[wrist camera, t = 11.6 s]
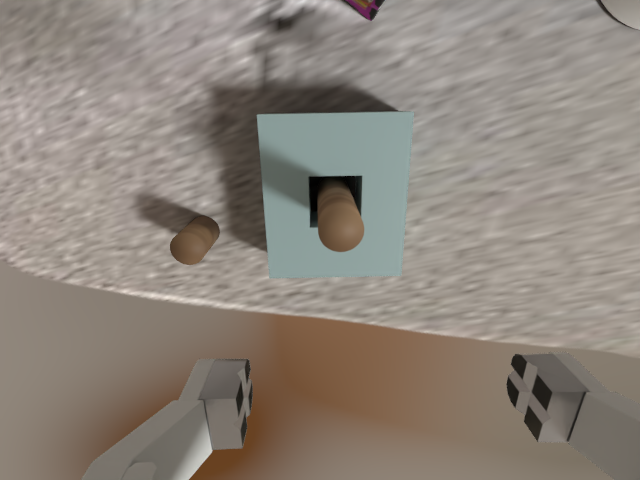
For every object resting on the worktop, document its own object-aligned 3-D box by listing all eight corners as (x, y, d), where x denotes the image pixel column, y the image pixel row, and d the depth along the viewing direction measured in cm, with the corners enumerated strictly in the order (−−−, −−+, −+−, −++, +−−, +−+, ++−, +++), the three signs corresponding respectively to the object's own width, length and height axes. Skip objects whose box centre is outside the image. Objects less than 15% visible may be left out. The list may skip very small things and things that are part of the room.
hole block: (265, 113, 31) (256, 114, 26) (399, 111, 31) (414, 111, 26) (275, 256, 36) (269, 278, 31) (390, 253, 36) (401, 275, 31)
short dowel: (187, 216, 34) (167, 233, 29) (217, 215, 34) (202, 232, 29) (192, 244, 35) (173, 265, 31) (221, 243, 35) (206, 264, 31)
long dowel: (316, 174, 33) (317, 208, 22) (348, 173, 33) (365, 207, 22) (317, 204, 34) (318, 252, 23) (347, 204, 34) (363, 251, 23)
